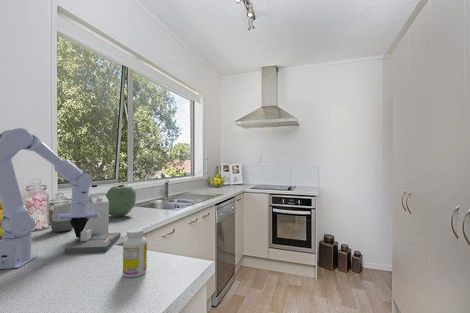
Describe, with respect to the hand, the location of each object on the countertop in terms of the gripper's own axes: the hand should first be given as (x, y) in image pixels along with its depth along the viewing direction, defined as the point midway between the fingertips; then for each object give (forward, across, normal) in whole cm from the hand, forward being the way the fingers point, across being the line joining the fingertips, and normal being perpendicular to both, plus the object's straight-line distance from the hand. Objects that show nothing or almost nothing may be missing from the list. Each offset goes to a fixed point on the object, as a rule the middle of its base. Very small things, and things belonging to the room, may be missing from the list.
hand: (79, 236), depth 94 cm
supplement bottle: (+4, -27, +29) cm, 40 cm away
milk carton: (+4, -1, -15) cm, 15 cm away
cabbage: (+4, -1, -52) cm, 52 cm away
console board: (+3, -6, 0) cm, 7 cm away
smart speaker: (+4, +17, -24) cm, 30 cm away
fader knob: (+1, -3, 0) cm, 3 cm away
